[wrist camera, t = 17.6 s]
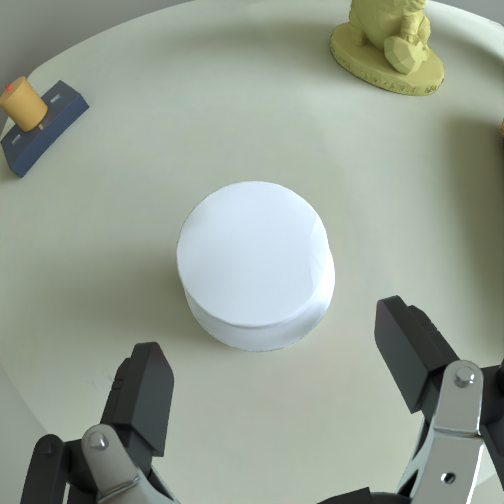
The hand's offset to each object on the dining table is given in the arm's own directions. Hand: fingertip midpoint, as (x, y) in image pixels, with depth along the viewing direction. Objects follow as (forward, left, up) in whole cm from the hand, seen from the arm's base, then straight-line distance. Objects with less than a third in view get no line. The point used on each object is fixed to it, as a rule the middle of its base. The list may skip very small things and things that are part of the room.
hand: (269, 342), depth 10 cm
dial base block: (-1, +37, -9) cm, 38 cm away
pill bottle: (+2, +2, -9) cm, 9 cm away
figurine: (+33, +9, -9) cm, 35 cm away
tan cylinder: (-1, +37, -6) cm, 38 cm away
